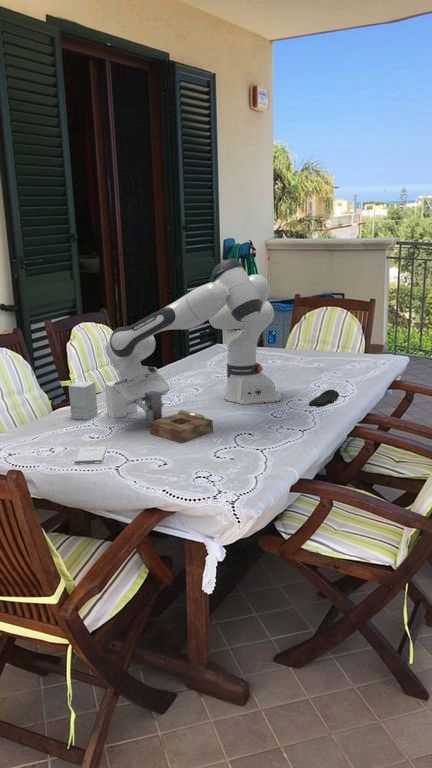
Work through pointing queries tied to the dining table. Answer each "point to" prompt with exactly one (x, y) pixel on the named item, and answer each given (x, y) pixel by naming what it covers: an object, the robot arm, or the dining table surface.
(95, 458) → the external hard drive
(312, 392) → the dining table surface
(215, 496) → the dining table surface
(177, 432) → the socket block
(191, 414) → the round bit
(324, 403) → the dark elongated pod
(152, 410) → the square bit
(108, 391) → the corner bracket
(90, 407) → the supplement box
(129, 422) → the dining table surface
